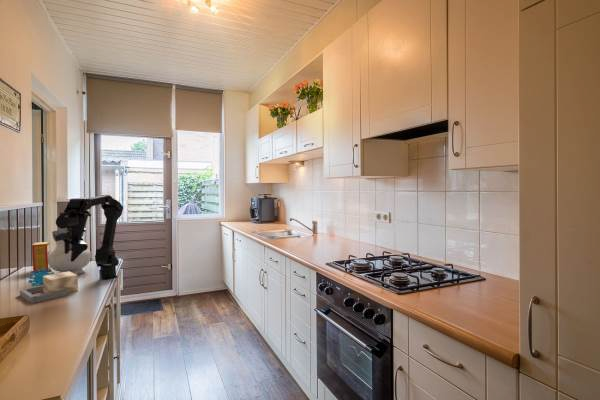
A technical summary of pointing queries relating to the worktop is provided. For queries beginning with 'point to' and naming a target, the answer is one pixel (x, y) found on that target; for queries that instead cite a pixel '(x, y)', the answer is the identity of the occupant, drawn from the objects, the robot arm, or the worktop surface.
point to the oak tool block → (60, 282)
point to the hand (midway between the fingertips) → (68, 257)
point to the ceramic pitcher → (67, 259)
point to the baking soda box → (40, 256)
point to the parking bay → (31, 298)
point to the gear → (39, 276)
